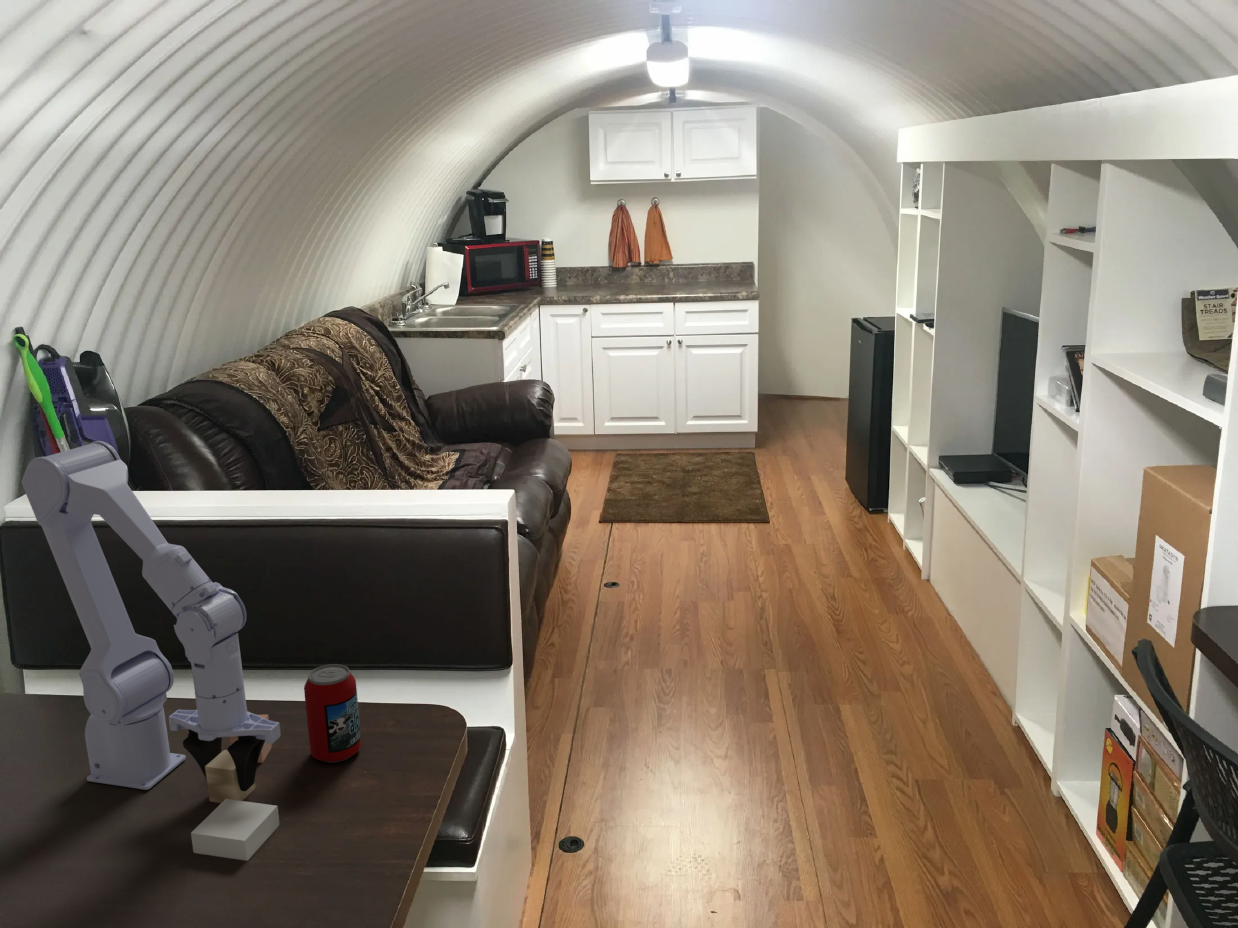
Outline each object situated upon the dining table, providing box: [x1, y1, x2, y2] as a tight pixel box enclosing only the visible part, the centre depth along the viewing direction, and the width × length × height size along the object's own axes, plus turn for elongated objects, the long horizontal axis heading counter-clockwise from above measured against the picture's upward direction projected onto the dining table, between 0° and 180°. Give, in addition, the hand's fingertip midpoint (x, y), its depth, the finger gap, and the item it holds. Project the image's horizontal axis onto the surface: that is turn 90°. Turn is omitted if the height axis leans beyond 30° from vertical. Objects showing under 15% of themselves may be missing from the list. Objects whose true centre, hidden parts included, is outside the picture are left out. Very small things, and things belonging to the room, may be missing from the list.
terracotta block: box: [229, 714, 273, 764], centre depth 141 cm, size 4×4×5 cm
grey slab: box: [190, 799, 281, 861], centre depth 124 cm, size 7×7×3 cm
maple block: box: [205, 749, 257, 804], centre depth 132 cm, size 4×4×5 cm
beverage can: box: [303, 663, 362, 764], centre depth 140 cm, size 7×7×12 cm
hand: (231, 784), depth 132 cm, fingers closed on maple block, 4 cm apart
